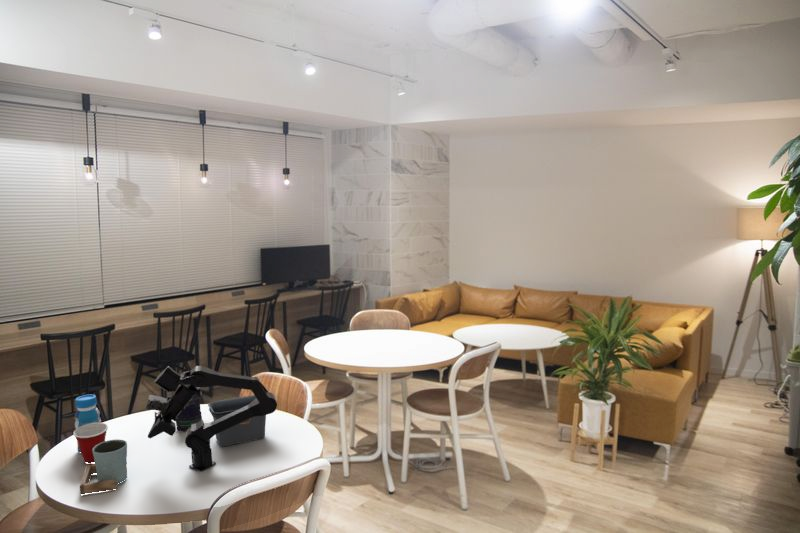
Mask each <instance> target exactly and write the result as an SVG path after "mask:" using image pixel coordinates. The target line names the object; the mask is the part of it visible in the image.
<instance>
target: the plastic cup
mask: <svg viewBox="0 0 800 533" xmlns="http://www.w3.org/2000/svg"><path fill="white" fill-rule="evenodd" d="M108 426H109V425H108V424H107V423H104V422H101V423H90V424H86V425H83V426H81V427H79V428H77V429H76V428H75V429H74V430H73V434H72V435H73V436H74V438H76V441H78V444H79V447H80V451H81V454H80V455H82V459H83V462H84V463H85V462H88V463H91V462H95V461H94V456H93V450H92V449H93V448H94V447H95V446H96V445H97V444H99V443H102V442H105V441H106V436H107V432H108V431H107V430H108V429H109V427H108ZM78 444H77V445H78Z"/></svg>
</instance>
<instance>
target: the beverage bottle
mask: <svg viewBox="0 0 800 533" xmlns="http://www.w3.org/2000/svg"><path fill="white" fill-rule="evenodd" d="M74 401H75V408H76V411H75V414H74V420H75V422H74V427H75V430H76V429H77V428H79V427H81V426H83V425H86V424H90V423H102V419H101V417H100V415H101V411H100V409H98V407H97V396H96V394H83V395H81V396H77V397H76V398H75V400H74ZM76 441H77V440H76ZM76 443H77V452H78V453H79V452H81V451H80V447H79V444H78V441H77V442H76Z"/></svg>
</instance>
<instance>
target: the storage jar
mask: <svg viewBox="0 0 800 533" xmlns="http://www.w3.org/2000/svg"><path fill="white" fill-rule="evenodd" d="M175 391H176V390H174V391H173V393H174V392H175ZM201 402H202V401H201V397H198V396H197V395H194V396H193V398H192V399H191V400H190V401H189V403H188V404H187V405H186V406H185V410H184V411H181V412H180V414H179V415H178V416H177V420H176V421H175V426H176V431H177V432H180V433H186V432H187V430H188V428H190V427H191V424H195V423H198V422H199V421H201V420H203V417H202V411H201Z"/></svg>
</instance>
